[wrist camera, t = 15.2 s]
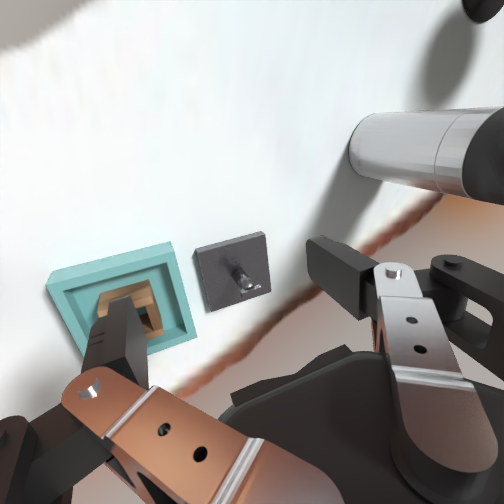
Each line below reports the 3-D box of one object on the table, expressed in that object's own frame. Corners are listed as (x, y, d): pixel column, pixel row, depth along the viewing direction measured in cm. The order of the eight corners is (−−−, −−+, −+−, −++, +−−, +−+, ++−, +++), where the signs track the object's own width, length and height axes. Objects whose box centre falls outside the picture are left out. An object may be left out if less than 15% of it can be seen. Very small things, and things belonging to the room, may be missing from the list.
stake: (261, 231, 43) (283, 249, 36) (267, 287, 47) (288, 311, 41) (195, 248, 40) (208, 271, 34) (209, 306, 44) (222, 336, 38)
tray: (170, 241, 38) (174, 251, 35) (192, 323, 44) (197, 337, 41) (52, 271, 34) (45, 285, 31) (95, 356, 40) (92, 374, 37)
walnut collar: (148, 279, 38) (151, 296, 34) (160, 314, 40) (164, 334, 37) (100, 292, 36) (97, 312, 32) (116, 329, 39) (114, 351, 35)
